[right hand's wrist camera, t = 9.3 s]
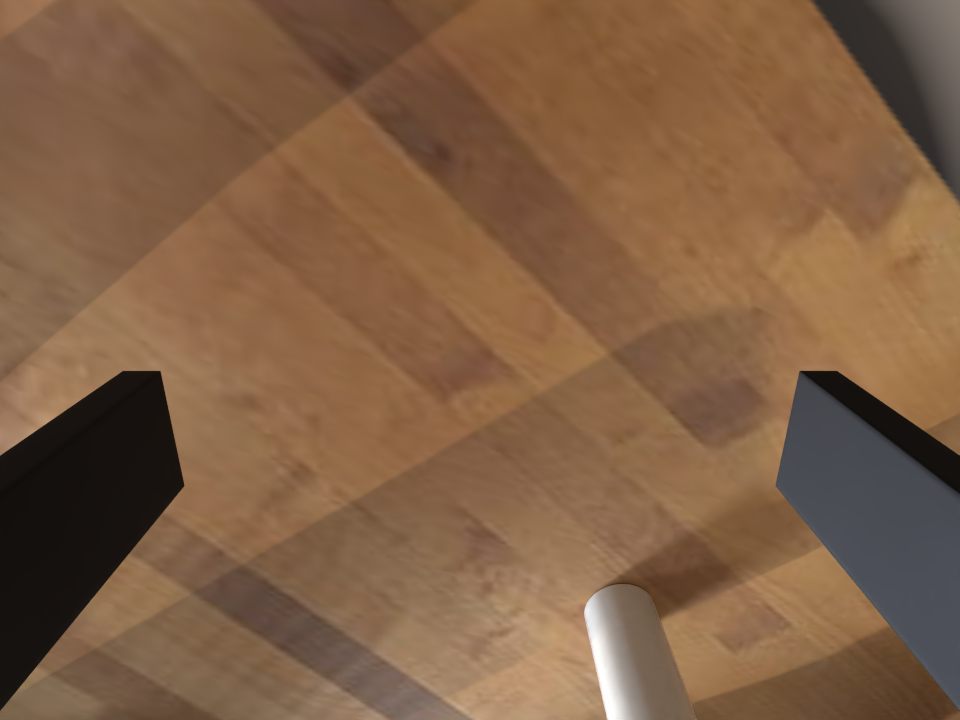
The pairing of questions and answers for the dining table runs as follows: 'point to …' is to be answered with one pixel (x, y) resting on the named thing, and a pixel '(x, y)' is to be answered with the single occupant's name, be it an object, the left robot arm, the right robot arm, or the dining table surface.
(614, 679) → the white cylinder
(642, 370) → the dining table surface
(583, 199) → the dining table surface
